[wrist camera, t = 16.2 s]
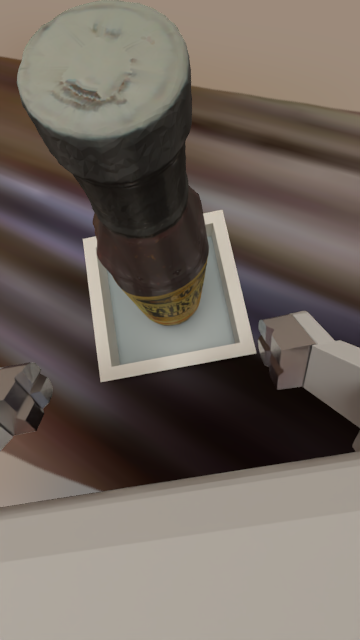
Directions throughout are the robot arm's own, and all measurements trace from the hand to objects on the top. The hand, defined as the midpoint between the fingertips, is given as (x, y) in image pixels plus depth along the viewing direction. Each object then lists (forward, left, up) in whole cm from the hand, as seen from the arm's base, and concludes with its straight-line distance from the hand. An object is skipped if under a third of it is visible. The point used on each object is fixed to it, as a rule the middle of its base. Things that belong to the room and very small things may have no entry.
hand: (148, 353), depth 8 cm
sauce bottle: (0, -6, -16) cm, 17 cm away
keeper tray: (0, -6, -16) cm, 17 cm away
